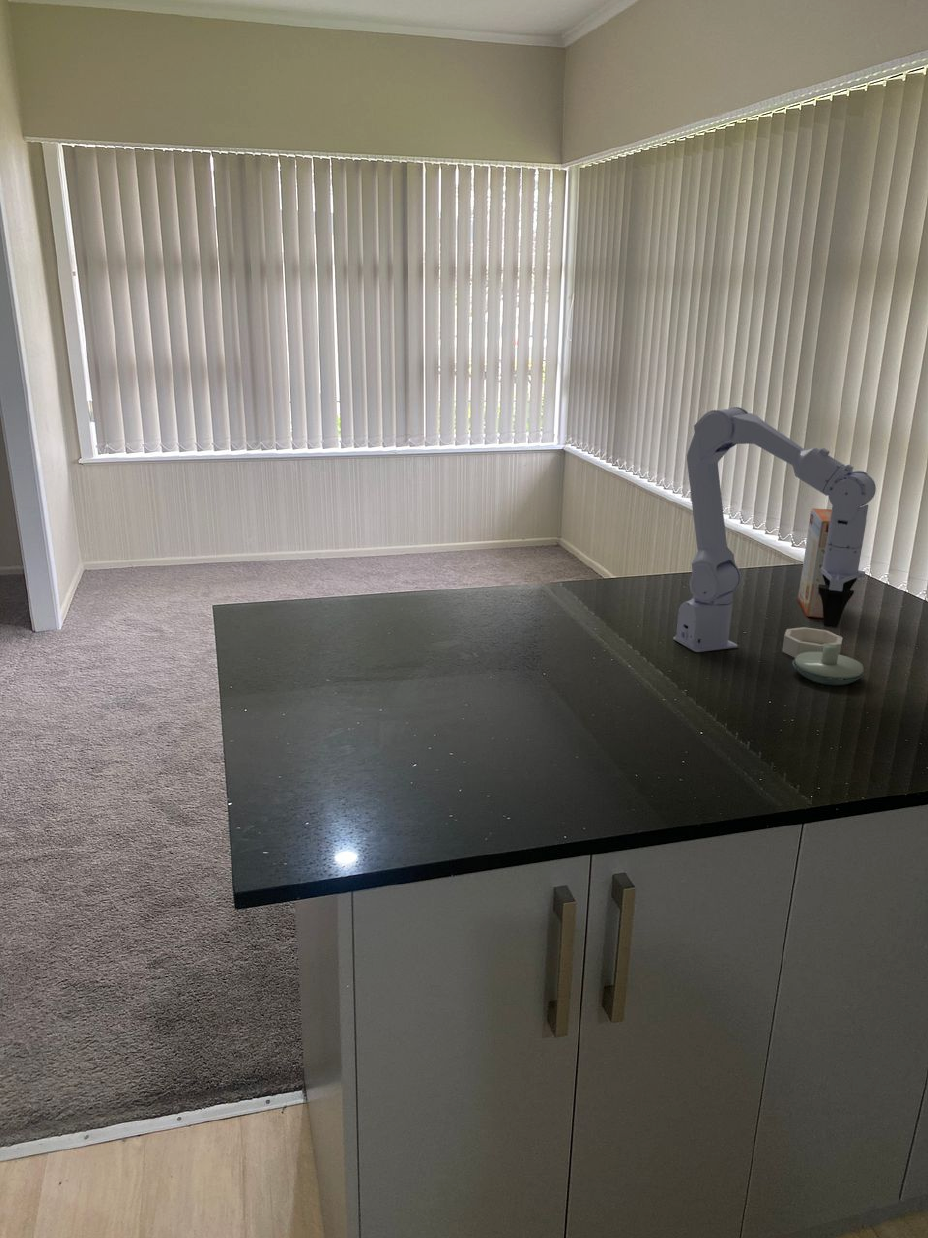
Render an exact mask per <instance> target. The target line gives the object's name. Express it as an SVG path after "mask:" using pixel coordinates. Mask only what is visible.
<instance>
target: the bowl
mask: <svg viewBox="0 0 928 1238" xmlns="http://www.w3.org/2000/svg"><path fill="white" fill-rule="evenodd" d="M842 641H843V637H842V636H841V635H837V634H836V633H833V632H832V631H829V630H827V629H818V628H812V627H802V626H801V627H793V628H786V630H785V632H784V636H783V642H782V650H781V651H782V653H784V654H787V655H789V656H790V657H792V658H794V659H795V658H796V656H797V655H798V654H801V653H805V652H823V647H824V645H825V644H833V645H837V646H839V647H840V649H839V655H841V649H842V644H843V643H842Z"/></svg>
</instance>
